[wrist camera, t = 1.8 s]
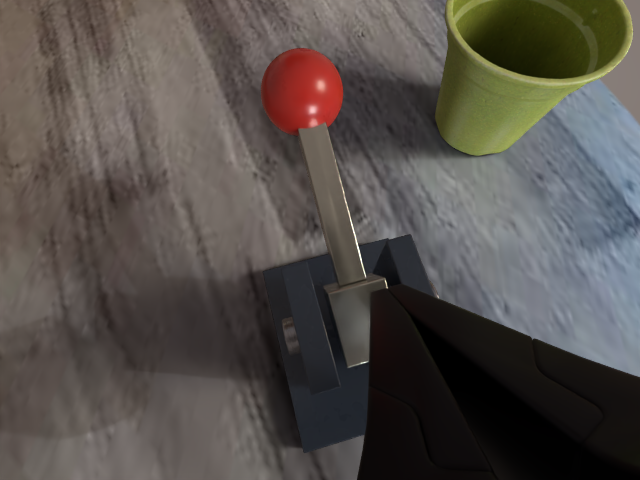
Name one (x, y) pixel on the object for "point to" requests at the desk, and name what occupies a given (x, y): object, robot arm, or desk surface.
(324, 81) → the red-knobbed lever handle
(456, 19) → the plant pot
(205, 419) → the desk surface
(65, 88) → the desk surface
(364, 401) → the dark grey lever stand
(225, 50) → the desk surface
